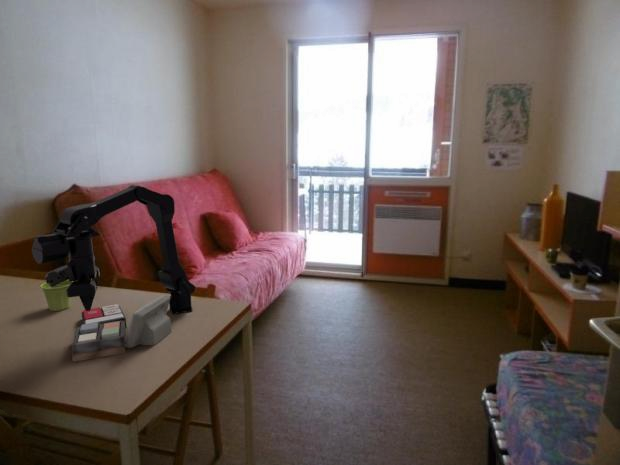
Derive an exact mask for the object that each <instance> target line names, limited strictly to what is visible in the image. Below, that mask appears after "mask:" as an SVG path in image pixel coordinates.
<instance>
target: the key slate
mask: <svg viewBox="0 0 620 465" xmlns="http://www.w3.org/2000/svg"><path fill="white" fill-rule="evenodd" d="M80 327H81V329H80V333H81V334H86V333H92V332H98V331H99V327H98V322H97V323H90V324H83V323H82V324H81V325H80Z"/></svg>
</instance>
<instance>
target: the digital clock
mask: <svg viewBox="0 0 620 465" xmlns="http://www.w3.org/2000/svg"><path fill="white" fill-rule="evenodd" d="M169 296H170V295H168V294H162V295H160V296H159V297H157V298H156V299H154V300H152V301H150V302H149V303H147V304H145V305H144V306H142V307H141V308H139V309H138V310H136V311H134V313H133V314H132V317H131V320H130V324H129V328H128V331H127V333H126V341H125V348H127V349H132V348H134V347H136V346H137V345H145V346H156V345H157V344H158V343H159V342H160V341H161V340H162V339H164V338H166V337H167V336H168V335H169V334H171V332H172V324H171V318H170V317H169V316H168V315H167V311H168V308H169V301H170V297H169Z"/></svg>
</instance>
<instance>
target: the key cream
mask: <svg viewBox="0 0 620 465" xmlns="http://www.w3.org/2000/svg"><path fill="white" fill-rule="evenodd" d="M93 340H97V333H91V334H84V335H80V336H79V339H78V343H81V342H87V341H93Z"/></svg>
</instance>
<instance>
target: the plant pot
mask: <svg viewBox="0 0 620 465" xmlns="http://www.w3.org/2000/svg"><path fill="white" fill-rule="evenodd" d="M71 282H74V281H71ZM71 282H69V279H68V280H66V281H64V282H61V283H59V284H57V285H56V286H54V287H51V286H50V285H49V284H48V283H46V282H43V283H42V284H41V285H40V288H41V289H42V292H43V293H44V297H45V299H46V304H47V307H48V310H49V311H52V312H57V311H59V312H60V311H63V310H65V309H68V308H71V297H67V291H66V290H67V288H68V286H69V285H70V283H71Z"/></svg>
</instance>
